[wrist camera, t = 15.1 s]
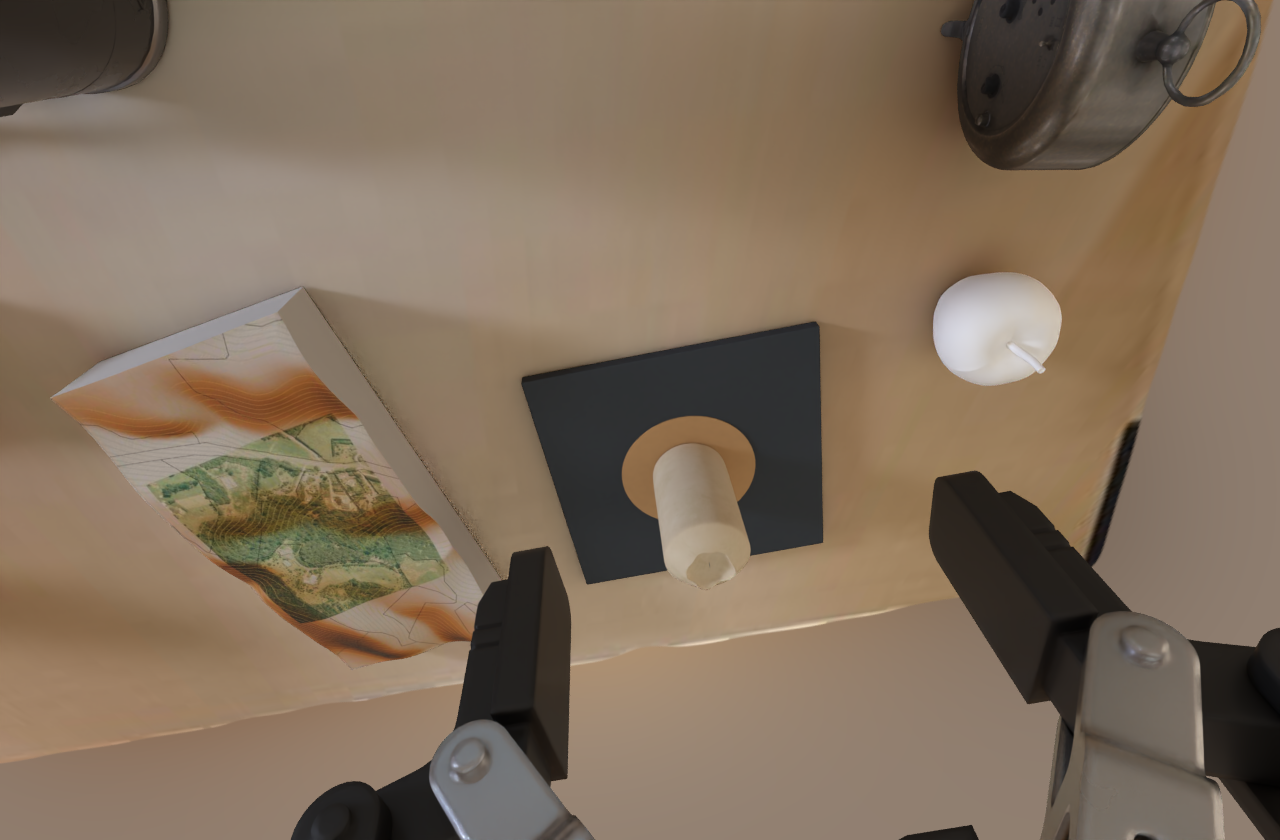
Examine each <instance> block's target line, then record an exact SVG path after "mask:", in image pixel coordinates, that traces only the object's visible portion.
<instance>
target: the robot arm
mask: <svg viewBox="0 0 1280 840" xmlns="http://www.w3.org/2000/svg"><path fill="white" fill-rule="evenodd" d="M167 31H168V11H167V3H166V0H0V117H3V116H8V115H13V114H14V113H15V112H16V111H17V110H18V109H19V107H20V106H21V105H22V104H24V103H29V102H35V101H41V100H47V99H53V98H60V97H67V96H72V95H78V94H97V93H104V92H110V91H115V90H120V89H123V88H127V87H129V86H132V85H134V84H136V83H137V82H139V81H141V80H142V79H143V78H145V77H146V76H147V75H148V74H149V73H150V72H151V71H152V70H153V69H154V67H155V66H156V64H157V63H158V61H159V59H160V57H161V55H162V53H163V50H164V47H165V43H166V38H167ZM929 539H930V544H931V548H932V551H933V554H934V556H935V558H936V560H937V562H938V563H939V565H940V567H941V568H942V570H943V571H944V573H945V575H946V576H947V578H948V579H949V581H950V582H951V584H952V586H953V587H954V589H955V590H956V592H957V593H958V595H959V597H960V598H961V600H962V601H963V603H964V604H965V606H966V608H967V609H968V611H969V612H970V614H971V615H972V617H973V619H974V620H975V622H976V624H977V625H978V627H979V628H980V630H981V631H982V633H983V634H984V636H985V638H986V639H987V641H988V643H989V644H990V645H991V647H992V649H993V650H994V652H995V653H996V655H997V657H998V658H999V660H1000V661H1001V663H1002V665H1003V666H1004V668H1005V669H1006V671H1007V672H1008V674H1009V676H1010V677H1011V679H1012V680H1013V682H1014V684H1015V685H1016V687H1017V688H1018V690H1019V692H1020V693H1021V695H1022V696H1023V698H1024V699H1025V701H1026V702H1027V704H1032V703H1038V702H1044V701H1050V700H1051V702H1052V703H1053V705H1054V706H1055V708H1056V709H1057V711H1058V712H1059V714H1060V716H1059V719H1058V723H1057V730H1056V738H1055V745H1054V753H1053V761H1052V769H1051V776H1050V784H1049V791H1048V799H1047V807H1046V814H1045V820H1044V825H1043V830H1042V834H1041V838H1040V840H1224V825H1223V808H1222V797H1221V792H1220V788H1219V786H1218V784H1217V782H1216V781H1214V780H1212V779H1209V778H1207V777H1206V776H1212V777H1218V778H1219V779H1220V780H1221V782H1222V783H1223V784H1224V786H1225V787H1226V788H1227V790H1228V791H1229V792H1230V794H1231V795H1232V796H1233V798H1234V799H1235V800H1236V802H1237V803H1238V804H1239V806H1240V807H1241V808H1242V810H1243V811H1244V812H1245V813H1246V815H1247V816H1248V818H1249V819H1250V820H1251V821H1252V823H1253V824H1254V826H1255V827H1256V828H1257V830H1258V831H1259V832H1260V834H1261V835H1262V836H1263V837H1264V839H1265V840H1280V628H1276V629H1273V630H1271V631H1268V632H1267V633H1266V634H1264V635H1263V637H1262V638H1261V640H1260V641H1259V643H1258V645H1257V646H1256V647H1249V646H1238V645H1229V644H1220V643H1210V642H1201V641H1194V640H1188V639H1186V638H1185V637H1184V636H1183V635H1182V634H1180V632H1179V631H1177V630H1176V629H1174V628H1173V627H1171V626H1170V625H1168V624H1166V623H1164V622H1162V621H1160V620H1158V619H1156V618H1153V617H1151V616H1148V615H1145V614H1141V613H1136V612H1132V611H1131V610H1130V609H1129V608H1128V607H1127V606H1126V605H1125V604H1124V603H1123V602H1122V601H1121V600H1120V598H1119V597H1118V596H1117V595H1116V594H1115V593H1114V592H1113V591H1112V589H1111V588H1110V587H1109V586H1108V585H1107V584H1106V583H1105V582H1104V581H1103V579H1102V578H1101V577H1100V576H1099V575H1098V574H1097V573H1096V572H1095V571H1094V570H1093V568H1092V567H1091V566H1090V565H1089V564H1088V563H1087V562H1086V561H1085V560H1084V558H1083V557H1082V556H1081V555H1080V554H1079V553H1078V552H1077V551H1076V550H1075V548H1074V547H1070V545H1069V542H1068V541H1067V540H1066V538H1065V537H1064V536H1063V535H1062V534H1061V533H1060V532H1059V531H1058V530H1055V528H1054V525H1053V524H1052V523H1051V522H1050V521H1049V520H1048V518H1047V517H1046V516H1045V515H1044V514H1043V513H1042V512H1041V511H1040V510H1039V508H1038V507H1037V506H1035V505H1033V504H1032V503H1030V502H1028V501H1027V500H1025V499H1023V498H1022V497H1020V496H1018V495H1017V494H1015V493H1013V492H1012V491H1007V492H1002V493H998V492H997V491H996V490H995V488H994V487H993V486H992V485H991V484H990V483H989V481H988V480H987V479H986V478H985V477H984V476H983V475H982V474H981V473H980V472H978V471H970V472H965V473H959V474H953V475H948V476H942V477H938V478H937V479H936V480H935V483H934V490H933V499H932V508H931V517H930V526H929ZM470 646H471V650H470V651H469V656H468V662H467V667H466V673H465V678H464V684H463V689H462V696H461V700H460V706H459V712H458V717H457V721H456V725H455V728H454V730H453V732H452V733H451V734H449V735H448V736H447V737H446V738H445V739H444V741H443V742H442V743H441V744H440V746H439V747H438V749H437V751H436V752H435V754H434V756H433V759H432V760H431V761H430V762H428V763H427V764H426V765H424V766H423V767H421V768H420V769H418V770H416V771H414V772H412V773H411V774H409V775H407V776H405V777H403V778H401V779H399V780H397V781H395V782H393V783H391V784H389V785H387V786H385V787H383V788H381V789H379V790H377V791H375V790H374V789H373V788H372V787H371V786H370V785H368V784H366V783H363V782H356V781H353V782H346V783H343V784H340V785H337V786H335V787H333V788H331V789H330V790H328V791H326V792H325V793H324V794H322V795H321V796H320V797H319V798H317V799H316V800H315V801H314V802H313V803H312V804H311V805H310V806H309V807H308V809H307V810H306V811H305V812H304V814H303V815H302V817H301V818H300V820H299V821H298V824H297V825H296V827H295V829H294V832H293V835H292V837H291V840H595V839H594V838H593V836H592V835H591V834H590V832H589V831H588V830H587V828H586V827H585V826H584V825H583V824H582V823H581V821H580V820H579V819H578V818H577V817H576V816H575V815H572V814H570V812H569V811H568V810H567V809H566V808H565V806H564V805H563V804H562V802H561V801H560V800H559V798H558V797H557V796H556V795H555V793H554V792H553V791H552V789H551V788H550V785H551V781H556V780H561V779H567V773H568V770H567V769H568V732H569V690H570V650H571V613H570V606H569V601H568V596H567V593H566V590H565V587H564V585H563V582H562V579H561V576H560V573H559V571H558V568H557V565H556V562H555V559H554V557H553V554H552V551H551V549H550V548H549V547H548V546H547V547H541V548H536V549H530V550H524V551H519V552H514V553H513V554H512V557H511V562H510V569H509V577H508V579H507V580H501V581H496V582H491V584H490V585H489V587H488V589H487V590H486V592H485V593H484V595H483V597H482V598H481V600H480V601H479V603H478V606H477V612H476V617H475V623H474V631H473V634H472V640H471V645H470ZM899 840H979V839H978V837H977V835H976V833H975V831H974V829H973V826H972V825H969V826H963V827H956V828H950V829H943V830H938V831H931V832H925V833H919V834H913V835H907V836H905V837H903V838H901V839H899Z"/></svg>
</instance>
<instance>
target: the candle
mask: <svg viewBox="0 0 1280 840" xmlns="http://www.w3.org/2000/svg"><path fill="white" fill-rule="evenodd" d="M653 484H654V492H655V499H656V506H657V513H658V520H659V527H660V535H661V542H662V549H663V556H664V563H665V566H666V568H667V570H668V571H669V573H670V574H671V575H672V576H673V577H675V578H676V579H678V580H679V581H681V582H684V583H687V584H689V585H693V586H696V587H698V588H700V589H702V590H708V589H711V588H712V587H713V586H715V585H718V584H721V583H724V582H726V581H728V580H730V579H732V578H733V577H734V576H735V575H737V574H738V573H739V572H740V571H741V570H742V569H743V568H744V566H745V565H746V564H747V562H748V560H749V557H750V552H751V548H750V543H749V540H748V536H747V533H746V530H745V527H744V523H743V520H742V517H741V513H740V510H739V507H738V504H737V500H736V497H735V494H734V490H733V487H732V484H731V481H730V477H729V474H728V471H727V468H726V465H725V462H724V460H723V459H722V457H721V456H720V454H719V453H718V452H717V451H715V450H714V449H712V448H711V447H709V446H706V445H702V444H696V443H689V444H683V445H679V446H676V447H674V448H672V449H670V450H668V451H667V452H665V453H664V454H663V455H662V456H661V457H660V458H659V460H658V461H657V463H656V465H655V467H654V471H653Z"/></svg>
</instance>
